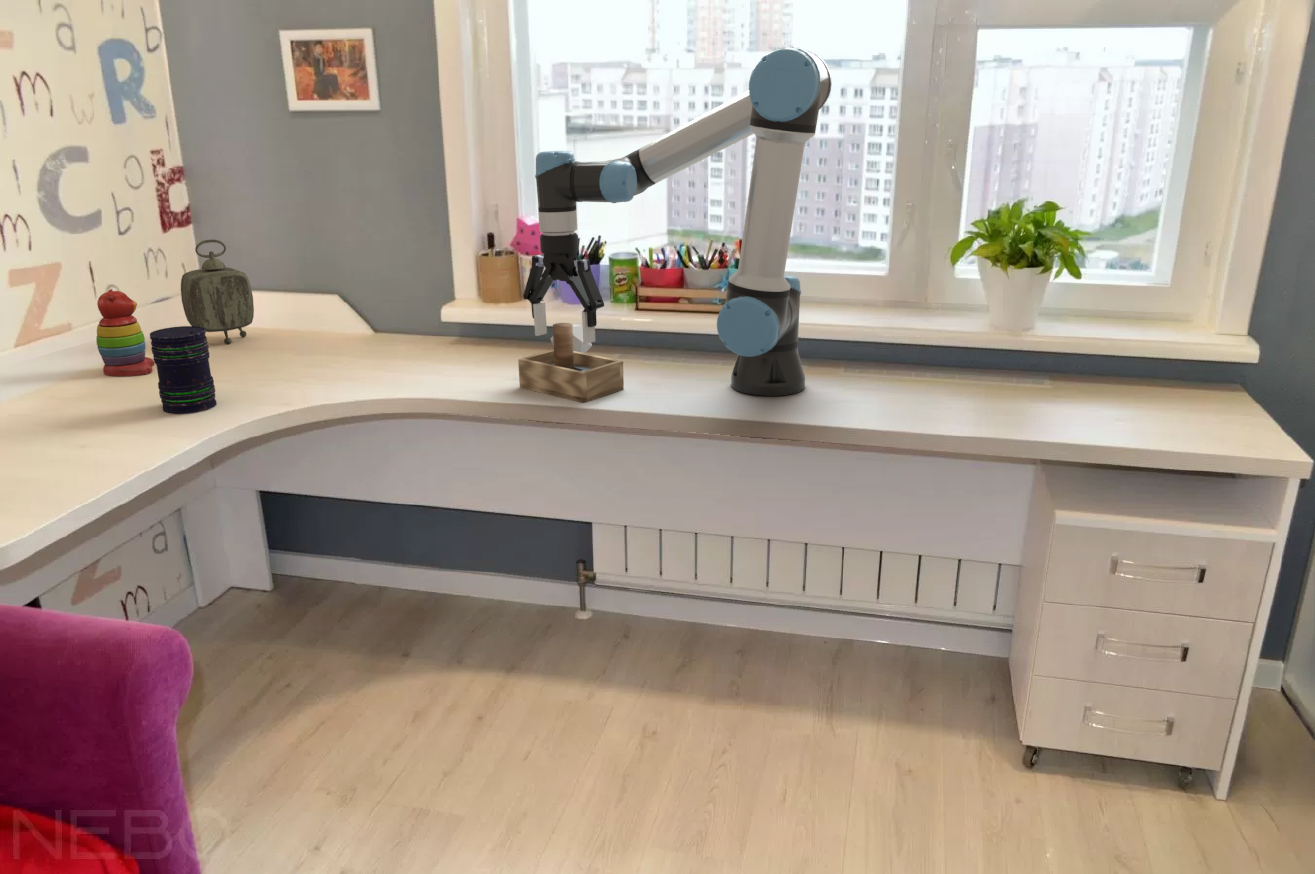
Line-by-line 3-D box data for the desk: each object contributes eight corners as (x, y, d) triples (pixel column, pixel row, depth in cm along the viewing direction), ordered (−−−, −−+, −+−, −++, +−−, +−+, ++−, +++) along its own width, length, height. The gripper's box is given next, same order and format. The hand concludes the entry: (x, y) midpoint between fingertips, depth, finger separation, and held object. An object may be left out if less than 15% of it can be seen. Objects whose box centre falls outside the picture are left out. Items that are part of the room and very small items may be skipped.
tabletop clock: (248, 335, 252) (234, 235, 244) (261, 341, 246) (247, 239, 238) (188, 344, 243) (171, 240, 235) (200, 350, 237) (183, 244, 229)
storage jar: (151, 413, 190) (137, 336, 185) (181, 398, 200) (168, 325, 195) (199, 415, 189) (187, 338, 184) (227, 400, 198) (216, 326, 193)
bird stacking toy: (151, 374, 217) (137, 293, 211) (99, 379, 213) (83, 297, 208) (155, 362, 226) (141, 285, 221) (105, 367, 223) (90, 288, 217)
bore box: (623, 389, 204) (623, 361, 202) (583, 403, 195) (582, 373, 193) (560, 375, 215) (559, 347, 213) (519, 387, 206) (518, 359, 204)
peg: (578, 381, 206) (576, 324, 202) (564, 385, 203) (562, 328, 199) (564, 378, 208) (562, 322, 205) (550, 382, 206) (548, 325, 202)
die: (598, 359, 230) (583, 322, 232) (592, 349, 222) (577, 310, 224) (565, 372, 230) (550, 335, 232) (558, 363, 222) (543, 324, 224)
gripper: (619, 234, 191) (623, 342, 198) (528, 227, 206) (534, 328, 213) (592, 238, 186) (597, 350, 192) (501, 231, 201) (508, 334, 207)
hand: (564, 338), depth 203 cm, fingers open, 13 cm apart
